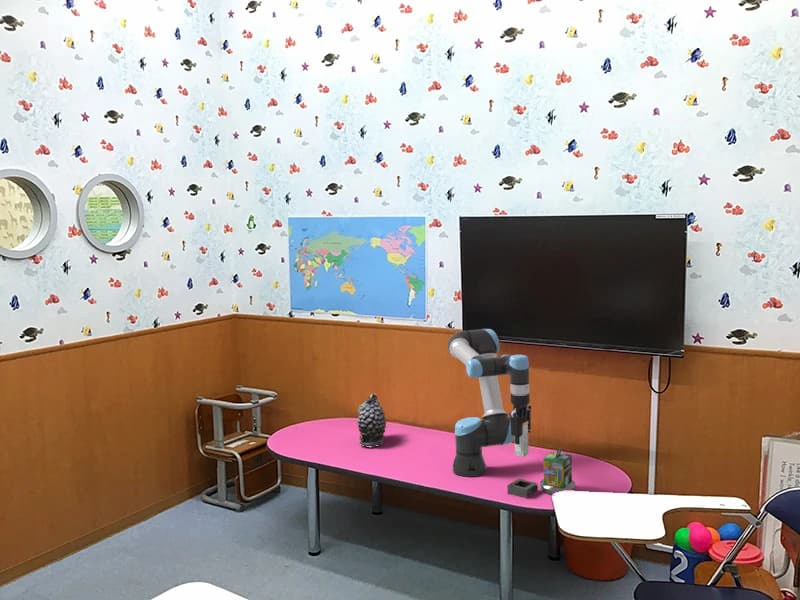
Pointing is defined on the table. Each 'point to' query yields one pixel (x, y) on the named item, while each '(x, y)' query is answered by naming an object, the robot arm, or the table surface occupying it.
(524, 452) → the white rectangular box
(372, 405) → the dark pine cone
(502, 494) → the table surface
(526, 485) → the socket
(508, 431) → the robot arm
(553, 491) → the rosette disc
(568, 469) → the chalk box
